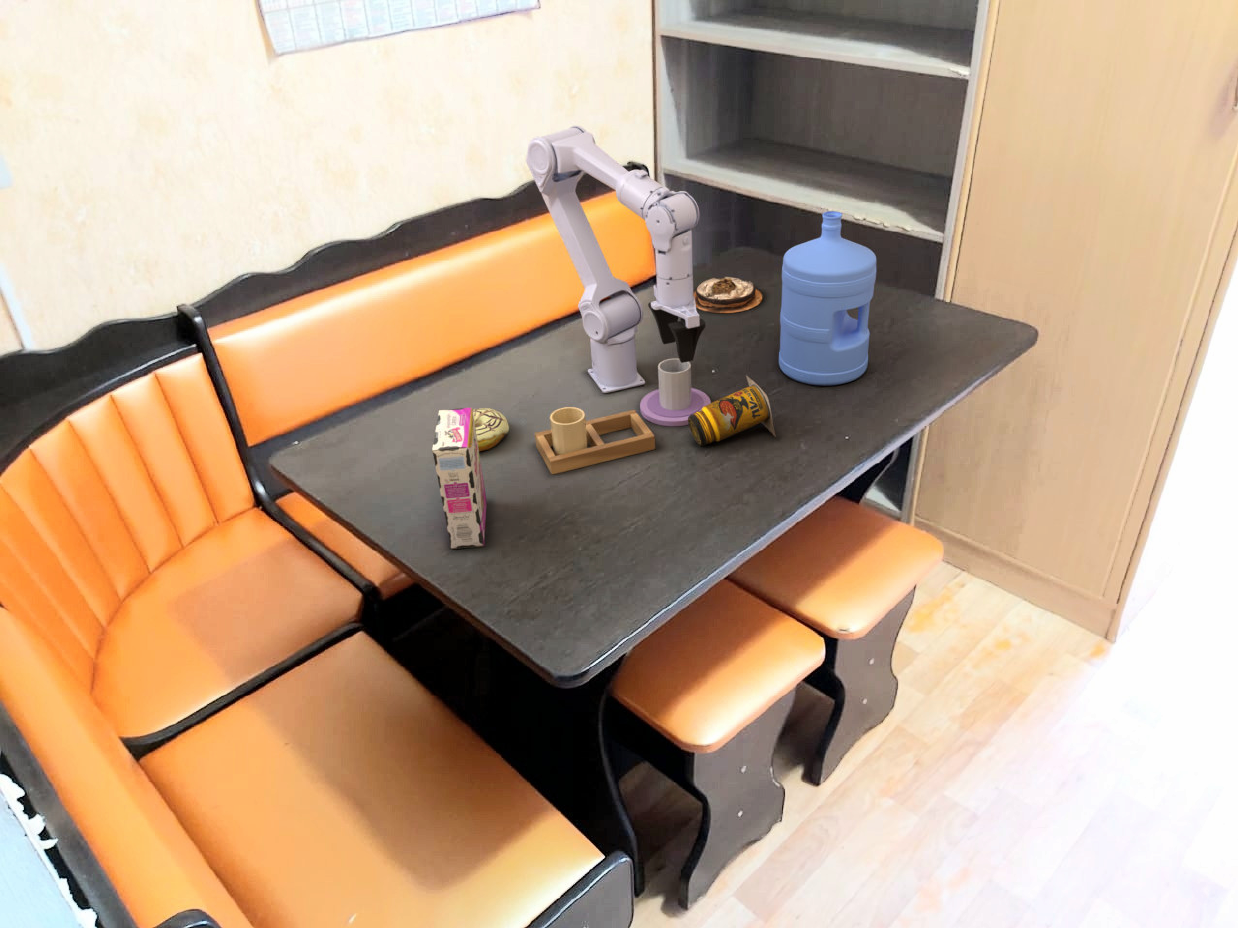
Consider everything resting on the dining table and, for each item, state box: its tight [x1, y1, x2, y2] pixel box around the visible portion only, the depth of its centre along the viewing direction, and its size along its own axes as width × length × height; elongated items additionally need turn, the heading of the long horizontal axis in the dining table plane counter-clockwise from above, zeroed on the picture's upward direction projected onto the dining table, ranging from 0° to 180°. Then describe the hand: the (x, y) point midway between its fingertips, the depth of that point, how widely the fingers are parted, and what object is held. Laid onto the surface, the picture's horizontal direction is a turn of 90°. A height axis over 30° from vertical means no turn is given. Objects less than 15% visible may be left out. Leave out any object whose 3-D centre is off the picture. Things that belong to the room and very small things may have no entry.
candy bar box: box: [431, 407, 488, 550], centre depth 128 cm, size 11×5×16 cm, turn 5°
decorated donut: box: [472, 407, 510, 452], centre depth 151 cm, size 10×11×4 cm
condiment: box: [688, 374, 777, 447], centre depth 146 cm, size 7×8×12 cm
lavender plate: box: [639, 387, 712, 427], centre depth 156 cm, size 12×12×1 cm
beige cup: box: [549, 406, 589, 456], centre depth 145 cm, size 5×5×7 cm
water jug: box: [778, 210, 877, 387], centre depth 158 cm, size 16×16×28 cm
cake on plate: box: [693, 276, 763, 314], centre depth 193 cm, size 15×15×4 cm
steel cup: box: [657, 357, 692, 410], centre depth 154 cm, size 5×5×7 cm
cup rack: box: [534, 409, 656, 475], centre depth 147 cm, size 9×17×2 cm, turn 110°
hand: (677, 351), depth 152 cm, fingers open, 7 cm apart
